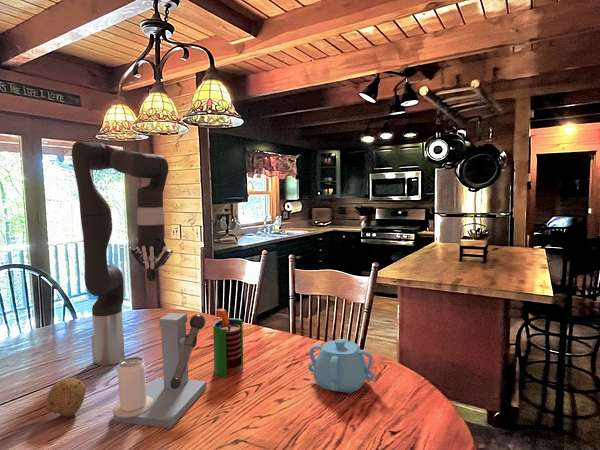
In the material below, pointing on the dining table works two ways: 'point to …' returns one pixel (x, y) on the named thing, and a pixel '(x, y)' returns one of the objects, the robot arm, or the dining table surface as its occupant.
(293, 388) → the dining table surface
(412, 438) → the dining table surface
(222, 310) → the motor
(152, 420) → the press
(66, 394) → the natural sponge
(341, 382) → the decorative pot
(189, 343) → the lever
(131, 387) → the can
